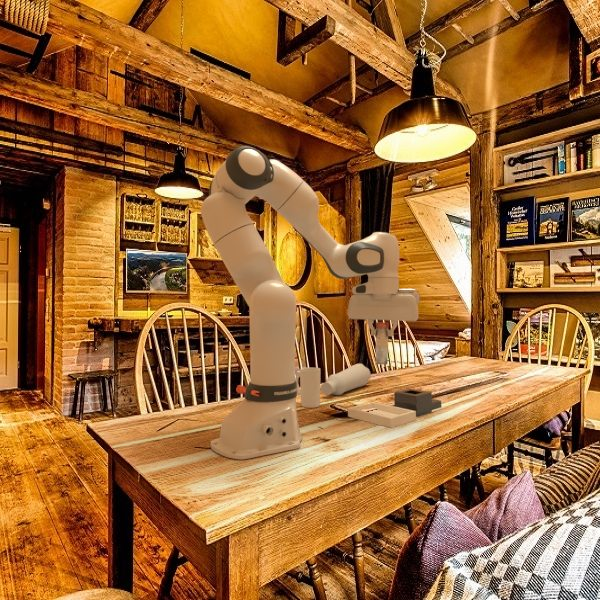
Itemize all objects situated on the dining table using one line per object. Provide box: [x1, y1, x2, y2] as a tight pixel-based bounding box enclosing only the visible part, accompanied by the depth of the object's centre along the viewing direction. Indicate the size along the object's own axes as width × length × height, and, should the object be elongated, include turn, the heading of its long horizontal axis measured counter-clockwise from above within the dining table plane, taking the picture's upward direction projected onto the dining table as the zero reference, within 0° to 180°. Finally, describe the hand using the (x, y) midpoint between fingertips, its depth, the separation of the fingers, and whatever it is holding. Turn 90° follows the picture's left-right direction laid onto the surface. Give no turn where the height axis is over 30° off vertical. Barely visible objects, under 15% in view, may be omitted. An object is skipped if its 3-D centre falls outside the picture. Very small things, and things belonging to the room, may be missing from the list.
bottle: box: [320, 363, 372, 396], centre depth 160 cm, size 9×9×30 cm
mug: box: [295, 367, 321, 409], centre depth 139 cm, size 10×7×12 cm, turn 47°
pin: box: [375, 321, 389, 366], centre depth 122 cm, size 3×3×12 cm
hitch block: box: [393, 388, 442, 418], centre depth 132 cm, size 16×8×6 cm, turn 131°
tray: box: [347, 401, 417, 429], centre depth 122 cm, size 12×16×2 cm
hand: (382, 335), depth 122 cm, fingers closed on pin, 3 cm apart
